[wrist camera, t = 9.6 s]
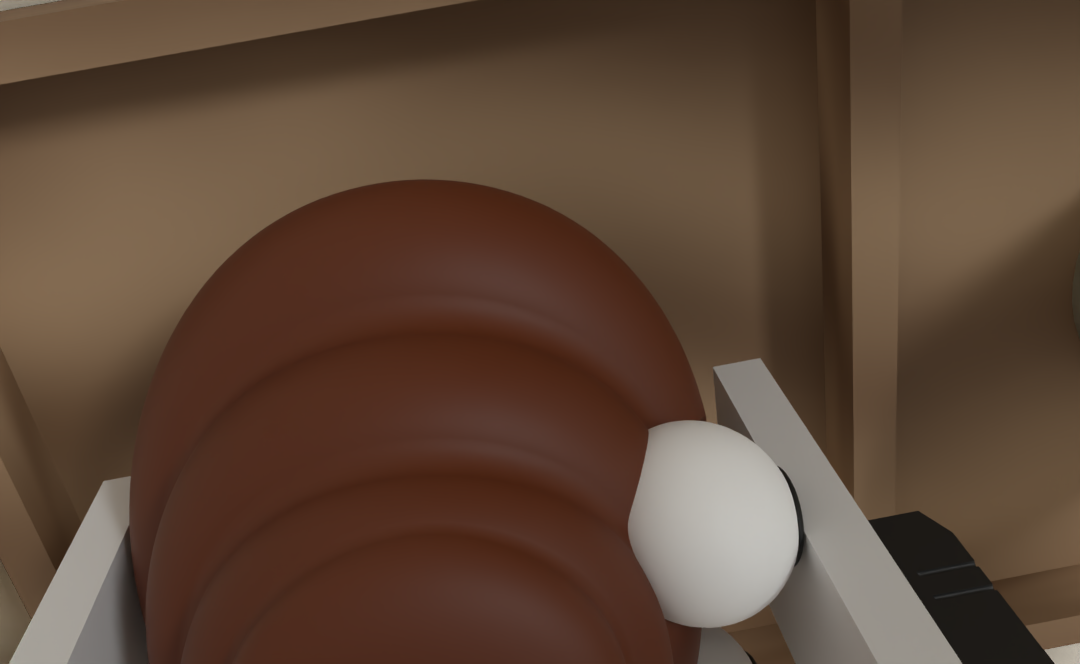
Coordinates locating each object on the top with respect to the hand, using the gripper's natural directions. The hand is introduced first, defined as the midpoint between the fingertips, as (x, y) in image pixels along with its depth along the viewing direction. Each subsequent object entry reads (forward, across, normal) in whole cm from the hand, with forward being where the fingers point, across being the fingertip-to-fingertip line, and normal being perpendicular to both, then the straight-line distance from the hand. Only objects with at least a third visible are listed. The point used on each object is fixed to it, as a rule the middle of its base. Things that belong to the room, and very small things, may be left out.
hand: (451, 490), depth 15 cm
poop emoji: (+1, 0, 0) cm, 1 cm away
